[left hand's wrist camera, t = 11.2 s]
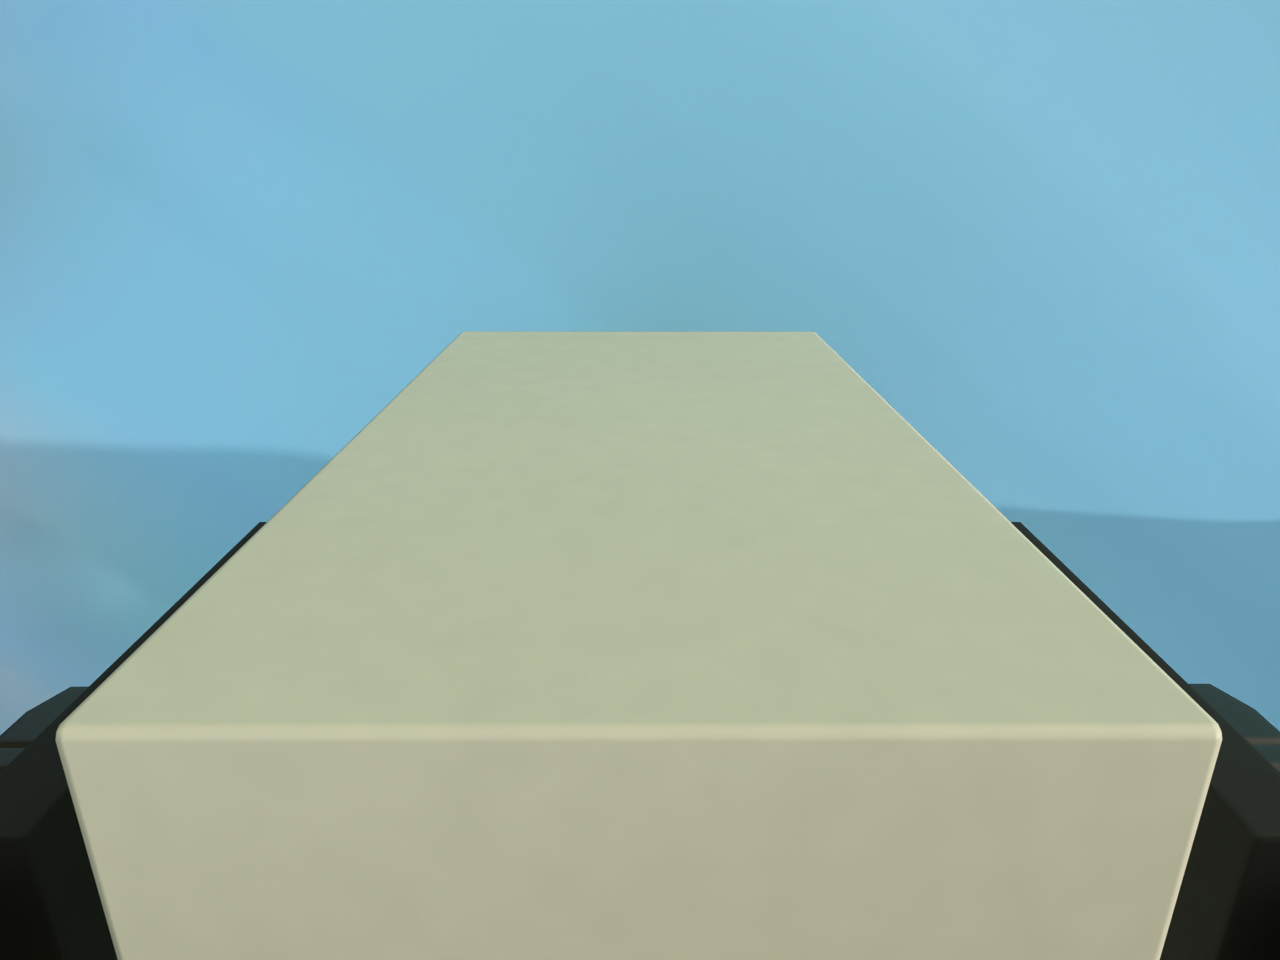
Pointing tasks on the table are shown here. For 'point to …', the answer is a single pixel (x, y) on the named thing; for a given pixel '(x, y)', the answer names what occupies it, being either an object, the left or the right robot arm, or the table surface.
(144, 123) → the table surface
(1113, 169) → the table surface
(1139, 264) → the table surface
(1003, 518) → the box
